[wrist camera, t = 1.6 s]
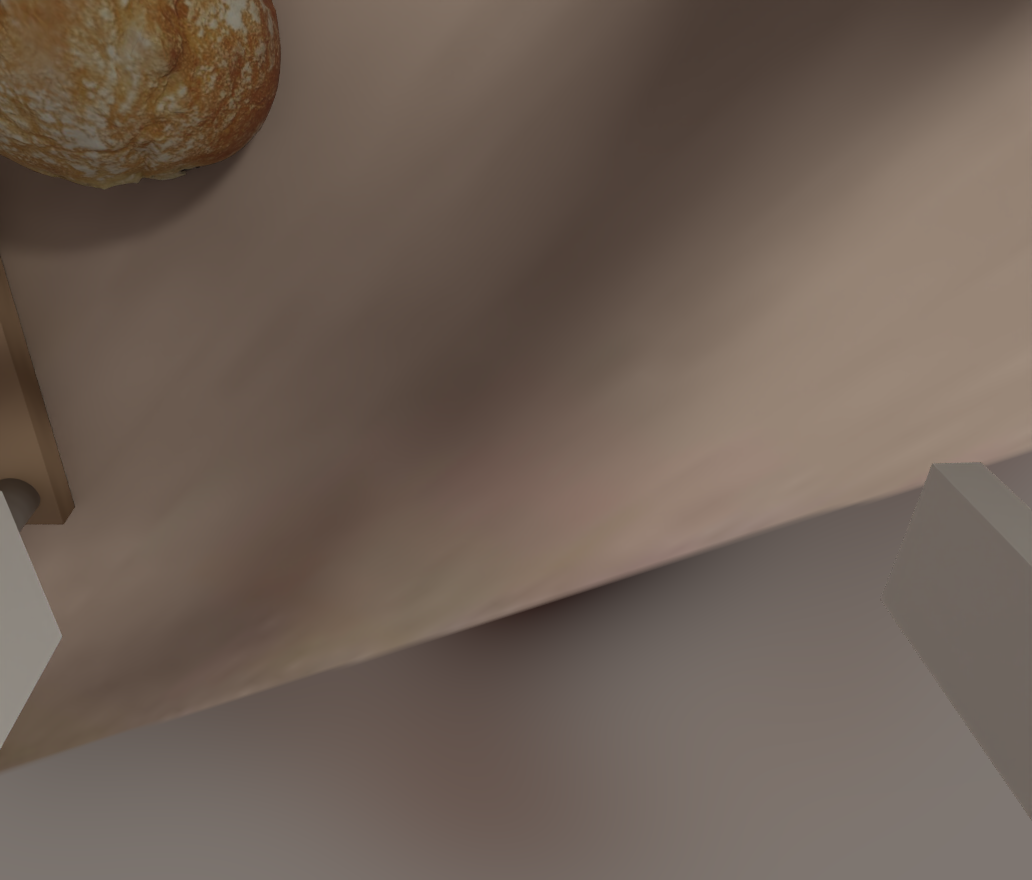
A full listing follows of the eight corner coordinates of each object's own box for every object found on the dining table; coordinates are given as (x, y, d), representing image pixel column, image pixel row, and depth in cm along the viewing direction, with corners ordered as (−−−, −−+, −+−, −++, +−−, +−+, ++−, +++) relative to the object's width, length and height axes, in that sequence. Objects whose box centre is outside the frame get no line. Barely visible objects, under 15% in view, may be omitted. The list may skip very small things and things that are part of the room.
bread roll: (85, 143, 29) (65, 293, 25) (-198, -159, 21) (-302, -9, 16) (319, 43, 28) (340, 182, 24) (123, -323, 19) (101, -207, 15)
